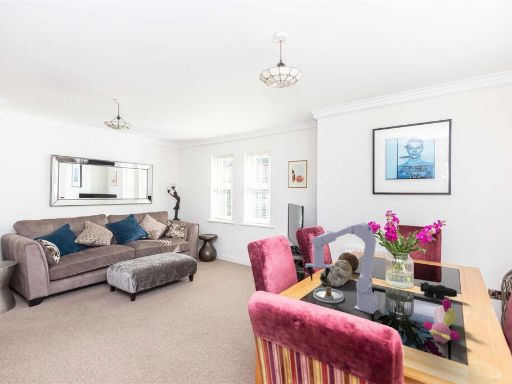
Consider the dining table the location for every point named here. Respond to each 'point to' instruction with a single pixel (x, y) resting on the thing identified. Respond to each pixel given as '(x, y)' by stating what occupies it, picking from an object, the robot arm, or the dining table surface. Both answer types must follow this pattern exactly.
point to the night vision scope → (437, 291)
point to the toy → (443, 323)
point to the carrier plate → (336, 294)
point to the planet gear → (328, 293)
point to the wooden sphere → (350, 260)
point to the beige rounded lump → (337, 274)
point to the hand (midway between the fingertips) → (318, 280)
